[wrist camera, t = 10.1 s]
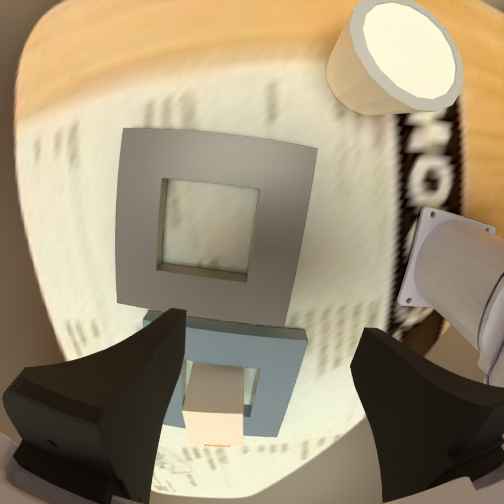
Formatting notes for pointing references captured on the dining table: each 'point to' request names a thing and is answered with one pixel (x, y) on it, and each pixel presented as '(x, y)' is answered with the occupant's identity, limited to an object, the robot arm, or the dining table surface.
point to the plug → (214, 405)
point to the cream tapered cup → (394, 60)
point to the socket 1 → (221, 172)
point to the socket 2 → (244, 355)
